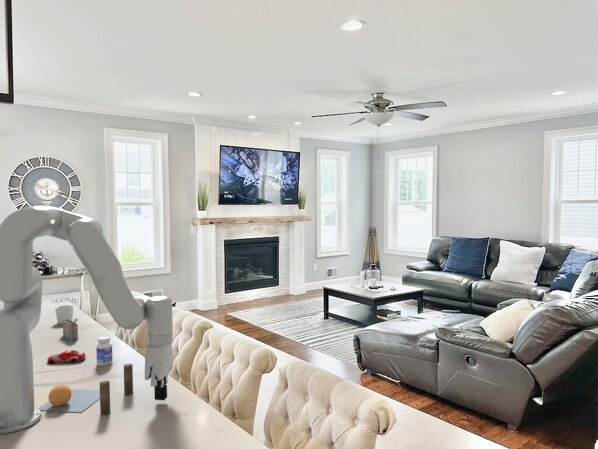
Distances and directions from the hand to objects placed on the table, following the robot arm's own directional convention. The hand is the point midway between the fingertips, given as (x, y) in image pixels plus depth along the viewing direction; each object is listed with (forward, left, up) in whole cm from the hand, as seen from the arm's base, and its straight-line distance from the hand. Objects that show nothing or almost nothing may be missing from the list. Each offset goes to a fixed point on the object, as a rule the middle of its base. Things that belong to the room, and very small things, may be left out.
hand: (160, 398), depth 130 cm
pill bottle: (+29, +35, -2) cm, 45 cm away
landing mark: (-1, +27, -1) cm, 27 cm away
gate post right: (+5, +13, -1) cm, 14 cm away
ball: (-5, +29, +2) cm, 29 cm away
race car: (+30, +51, -2) cm, 59 cm away
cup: (+81, +87, -2) cm, 119 cm away
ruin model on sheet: (+57, +68, -2) cm, 89 cm away
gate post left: (-8, +13, -1) cm, 15 cm away
